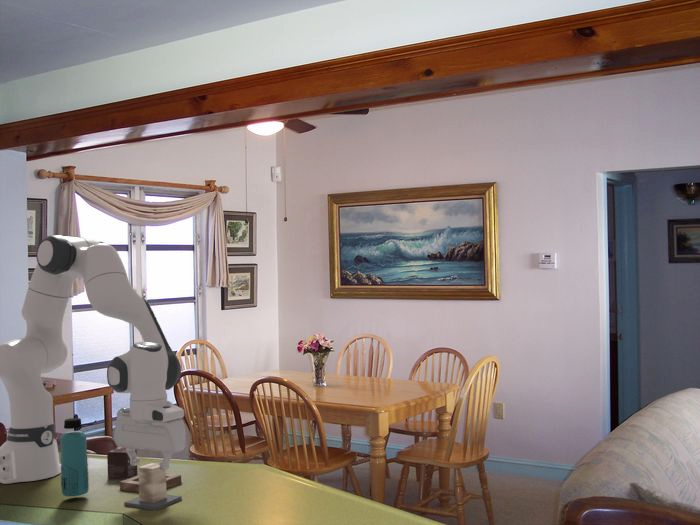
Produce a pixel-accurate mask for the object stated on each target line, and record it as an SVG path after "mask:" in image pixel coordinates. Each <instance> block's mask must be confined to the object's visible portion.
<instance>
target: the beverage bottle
mask: <svg viewBox="0 0 700 525" xmlns="http://www.w3.org/2000/svg"><path fill="white" fill-rule="evenodd" d="M63 423H64V424H63V428H64V430H65V429H67V430H71V429H72V431H67V432H64V433H63V434H62V435H61V436H60V437H59V442H60V464H61V473H60V474H61V476H60V484H61V485H60V487H61V494H62V495H63V497H77V496H82V495H86V494H87V493H88V492H89V487H90V485H89V479H90V477H89V474H90V473H89V463H88V449H87V448H88V446H87V434H86V433H84V431H82V430H73V429H79V428H82V426H83V425H82V419H81V418H79V417H71V418H66V419H65V420H64V422H63Z"/></svg>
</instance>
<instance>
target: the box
mask: <svg viewBox="0 0 700 525" xmlns="http://www.w3.org/2000/svg"><path fill="white" fill-rule="evenodd" d="M137 450H138V448H137V449H136V450H135V452H136V454H137ZM106 454H107V456H106V457H107V462H106V463H107V479H119V480H122V479H124V480H126V479H129V478H132V477H135V476H136V475H137V474H139V471H138V465H137V466H133V465H130V458H129V456H128V454H127V452H126V447H125V446H120V447H116V448H113V449H111V450H109V451H107V453H106ZM137 455H138V454H137Z"/></svg>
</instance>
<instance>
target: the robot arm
mask: <svg viewBox="0 0 700 525" xmlns="http://www.w3.org/2000/svg"><path fill="white" fill-rule="evenodd" d="M35 255H36V262H37V264H36V266H35V268H34V271H33V273H32V275H31V278H30V279H29V284H28V286H27V290H26V294H25V298H24V302H23V305H22V309H21V316H22V318H23V320H25V322H26V333H25V336H24V337H22V338H14V339H10V340H9V339H8V341H5V342H3V343H1V344H0V379H1V381H2V382H3V384H4V387H5V389H6V392H7V396H8V400H9V409H10V410H9V411H10V427H9V428H5V429H4V431H6V432H4V434H7V436H6V441H5V442H4V443H3V444H2V445H1V446H0V483H1V484H5V485H8V484H14V483H24V482H26V483H27V482H33V481H34V482H35V481H41V480H45V479H49V478H53V477H55V476H57V475H59V474H61V462H60V455H59V449H58V442H57V440H56V439H55V436H56V430H57V428H56V423H55V422H54V403H53V402H54V401H53V399H54V398H53V396H52V393H51V392H49V391H48V390H47V389H46V387H45V386H44V382H43V380H42V375H43V374H47V373H52V372H54V371H55V370H57V369H58V368H59V367H61V366H63V365H64V364H65V362H66V360H67V357H68V347H67V345H66V343H65V342H64V340H63V321H64V316H65V313H66V309H67V304H68V302H69V298H70V295H71V291H72V287H73V283H74V282H75V280H76V279H82V280H83V284H84V289H85V293H86V297H87V300H88V303H90V306H91V307H92V308H93V309H94V311H96V312H98V313H99V314H100V315H103V316H105V317H108V318H113V319H116V320H117V319H118V320H120V321H123V322H126V323H128V324H129V325H132V326H134V327H135V328H136V329H137V331H138V332H139V333H140V335H141V338H142V339H143V341H140V342H135V343H133V344H132V345H131V347H130V349H129V350H128V351H127V352H125V353H123V354H121V355H117V356H114V358H112V359H111V361H110V362H109V364H108V366H107V369H106V379H107V380H106V381H107V383H108V385H109V387H110V388H111V389H112V390H113V391H114V392H116V393H119V394H129V407H121V408H120V409H119V410H118V411H116V412H117V413H116V420H115V425H114V434H113V435H114V437H113V441H114V443H115V446H118V447H124V448H126V452H127V454H128V456H129V458H130V465H133V466H137V467H138V466H139V465H140V463H141V462H140V459H141V458H140V456H138V454H136V452H135V450H136V449H137V450H138V449H139V450H140V449H141V450H149V451H156V452H161V453H162V456H163V458H162V461H160V462H159V463H158V464H159V466H160V467H159V469H160V470H166V471H167V470H169V469H170V461H171V459H172V457H173V456H174V455H173V454H176V453H179V452H182V451H184V449H185V447H186V443H187V441H186V440H187V437H186V436H187V435H186V433H187V432H186V425H185V422H184V419H182V418H184V416H185V410H184V409H183V408H182V407H180V406H177V405H176V404H174V403H173V402H171V401H169V400H168V393H167V390H168V391H169V390H172V388H173V387H175V385H176V384H177V382H178V381H179V379H180V378H181V375H182V366H181V363H180V360H179V358H178V356H177V355H176V353H175V352H174V351H173V349H172V347H171V346H170V343H169V342H168V340H167V338H166V336H165V334H164V331H163V330H162V327H161V325H160V323H159V321H158V320H157V317H156V315H155V313H154V311H153V309H152V307H151V305H150V303H149V302H148V301H147V299H145V298H144V297H142V296H140V294H139V293H137V291H136V290H135V289H134V287H133V286H132V285H131V283H130V280H129V277H128V272H127V271H126V268H125V265H124V263H123V261H122V258H121V257H120V255H119V253H118V251H117V249H116V248H115V247H114V246H112V245H111V244H108V243H105V242H103V241H97V240H94V239H91V238H85V237H77V236H76V237H75V236H65V235H64V236H63V235H61V234H56V235H55V234H54V235H48V236H45V237H44V238H43V239H42V240H41V241H40V242H39V244H38V247H37V249H36V254H35Z"/></svg>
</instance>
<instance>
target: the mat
mask: <svg viewBox="0 0 700 525" xmlns="http://www.w3.org/2000/svg"><path fill="white" fill-rule="evenodd" d="M166 494H167V493H166ZM182 500H183V499H182V496H180V495H176V494H175V495H174V494H167V498H165V499H162V500H160V501H157V502H155V503H151V502H144V501H139V496H136V497H135V498H132V499H129V500H127V501H124V503H123V505H124V507H131V508H137V509H143V510H150V511H158V510H160V509H163V508H166V507H168V506H170V505H173V504H175V503H178V502H179V501H182Z"/></svg>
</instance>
